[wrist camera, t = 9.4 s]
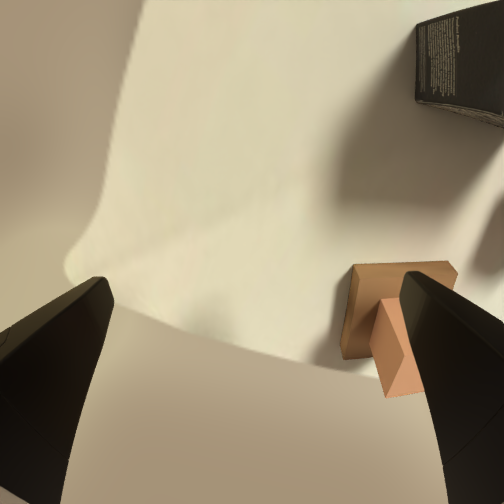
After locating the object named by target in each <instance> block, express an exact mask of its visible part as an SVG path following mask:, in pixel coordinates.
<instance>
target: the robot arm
mask: <svg viewBox="0 0 504 504" xmlns="http://www.w3.org/2000/svg"><path fill="white" fill-rule="evenodd" d="M399 302H400V306H401V310H402V314H403V318H404V322H405V326H406V330H407V335H408V339H409V343H410V346H411V349H412V352H413V355H414V358H415V362H416V365H417V368H418V371H419V374H420V377H421V381H422V384H423V388H424V391H425V394H426V398H427V402H428V405H429V409H430V413H431V417H432V421H433V424H434V429H435V433H436V437H437V441H438V446H439V451H440V456H441V460H442V465H443V472H444V477H445V483H446V489H447V496H448V503H449V504H504V324H503V322H502V321H501V320H499V319H498V318H496V317H495V316H493V315H491V314H490V313H488V312H487V311H485V310H484V309H482V308H480V307H479V306H477V305H476V304H474V303H472V302H471V301H469V300H467V299H466V298H464V297H463V296H461V295H459V294H458V293H456V292H454V291H453V290H451V289H449V288H448V287H446V286H444V285H443V284H441V283H439V282H437V281H436V280H434V279H432V278H431V277H429V276H427V275H425V274H424V273H422V272H420V271H407V272H406V273H405V274H404V278H403V282H402V286H401V289H400V293H399ZM113 307H114V297H113V295H112V292H111V289H110V286H109V283H108V280H107V279H106V278H105V277H92V278H90V279H89V280H87V281H85V282H83V283H82V284H80V285H78V286H76V287H75V288H73V289H71V290H70V291H68V292H66V293H65V294H63V295H61V296H59V297H58V298H56V299H54V300H52V301H51V302H49V303H48V304H46V305H44V306H43V307H41V308H39V309H38V310H36V311H34V312H33V313H31V314H29V315H28V316H26V317H25V318H23V319H21V320H20V321H18V322H17V323H15V324H14V325H12V326H11V327H9V328H7V329H5V330H4V331H2V332H1V333H0V504H27V503H29V504H60V501H61V496H62V491H63V486H64V481H65V476H66V471H67V466H68V462H69V460H68V459H69V457H70V453H71V449H72V445H73V441H74V437H75V433H76V430H77V426H78V423H79V419H80V416H81V412H82V408H83V405H84V402H85V399H86V395H87V392H88V389H89V386H90V383H91V380H92V377H93V374H94V371H95V368H96V365H97V362H98V359H99V356H100V353H101V350H102V347H103V344H104V341H105V337H106V333H107V329H108V325H109V321H110V318H111V314H112V310H113Z"/></svg>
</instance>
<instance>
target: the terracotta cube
mask: <svg viewBox="0 0 504 504" xmlns="http://www.w3.org/2000/svg"><path fill="white" fill-rule="evenodd" d="M369 345H370V348H371V351H372V355H373V358H374V361H375V364H376V368H377V371H378V374H379V378H380V381H381V384H382V388H383V392H384V395H385V398H390V397H397V396H402V395H408V394H413V393H418V392H423V391H424V388H423V384H422V381H421V377H420V374H419V371H418V368H417V365H416V362H415V358H414V355H413V352H412V349H411V346H410V343H409V339H408V335H407V330H406V326H405V322H404V318H403V314H402V310H401V306H400V302H399V298H387V299H381V300H380V304H379V308H378V312H377V316H376V320H375V323H374V327H373V331H372V335H371V338H370V342H369Z"/></svg>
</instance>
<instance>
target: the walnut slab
mask: <svg viewBox="0 0 504 504" xmlns="http://www.w3.org/2000/svg"><path fill="white" fill-rule="evenodd" d="M407 271H420V272H422V273H424V274H425V275H427V276H429V277H431V278H432V279H434V280H436V281H437V282H439V283H441V284H443V285H444V286H446V287H448V288H449V289H451V290H453V287H454V284H455V281H456V278H457V275H458V273H457V271H456V270H455V269H454V268H453V267H452V265H451V264H450V263H449V262H448V261H430V262H405V263H378V264H354V265H353V272H352V279H351V286H350V292H349V298H348V304H347V310H346V315H345V321H344V326H343V331H342V336H341V341H340V347H341V352H342V356H343V360H349V359H360V358H370V357H373V355H372V351H371V348H370V345H369V342H370V338H371V335H372V331H373V327H374V323H375V320H376V316H377V312H378V308H379V304H380V300H381V299H387V298H399V293H400V289H401V286H402V282H403V278H404V274H405V273H406V272H407Z"/></svg>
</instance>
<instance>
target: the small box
mask: <svg viewBox="0 0 504 504" xmlns="http://www.w3.org/2000/svg"><path fill="white" fill-rule="evenodd" d="M416 45H417V47H416V50H417V51H416V89H415V100H416V102H417V103H420V104H424V105H428V106H432V107H436V108H440V109H444V110H448V111H451V112H454V113H458V114H462V115H465V116H468V117H472V118H475V119H478V120H480V121H484V122H486V123H490V124H493V125H495V126H497V127H502V128H504V0H498V1H493V2H489V3H485V4H481V5H477V6H473V7H470V8H466V9H462V10H459V11H456V12H452V13H449V14H446V15H442V16H439V17H436V18H433V19H430V20H427V21H424V22H421V23H418V24H417V25H416Z"/></svg>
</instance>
